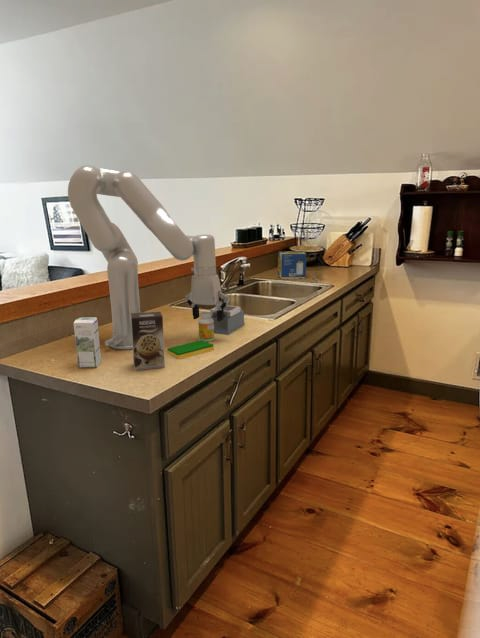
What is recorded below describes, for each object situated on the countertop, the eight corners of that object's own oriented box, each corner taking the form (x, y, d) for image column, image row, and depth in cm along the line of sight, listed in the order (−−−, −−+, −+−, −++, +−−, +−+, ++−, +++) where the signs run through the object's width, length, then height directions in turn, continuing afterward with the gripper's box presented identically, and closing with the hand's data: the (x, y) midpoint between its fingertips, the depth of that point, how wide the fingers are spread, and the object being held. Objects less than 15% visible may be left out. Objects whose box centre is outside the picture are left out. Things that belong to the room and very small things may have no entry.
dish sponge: (167, 355, 152) (166, 348, 152) (202, 346, 161) (201, 339, 160) (178, 360, 147) (178, 353, 146) (214, 351, 155) (214, 344, 155)
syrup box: (101, 361, 146) (97, 316, 142) (96, 368, 140) (92, 321, 136) (83, 361, 146) (78, 316, 142) (77, 368, 140) (72, 321, 136)
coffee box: (134, 370, 138) (130, 318, 133) (133, 363, 144) (129, 312, 139) (165, 367, 140) (162, 315, 136) (163, 360, 146) (160, 310, 142)
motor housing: (227, 334, 172) (227, 313, 170) (206, 331, 176) (205, 311, 173) (247, 323, 187) (247, 303, 185) (227, 320, 190) (226, 301, 188)
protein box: (277, 276, 288) (277, 251, 284) (302, 276, 289) (302, 250, 285) (280, 279, 278) (281, 253, 274) (306, 279, 279) (306, 253, 275)
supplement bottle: (196, 339, 167) (195, 312, 165) (208, 336, 170) (207, 310, 168) (204, 342, 163) (203, 315, 161) (217, 339, 166) (216, 313, 164)
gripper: (178, 272, 161) (181, 320, 165) (222, 274, 153) (225, 324, 158) (189, 268, 167) (192, 314, 172) (232, 270, 160) (235, 318, 165)
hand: (208, 319), depth 165 cm, fingers open, 9 cm apart
